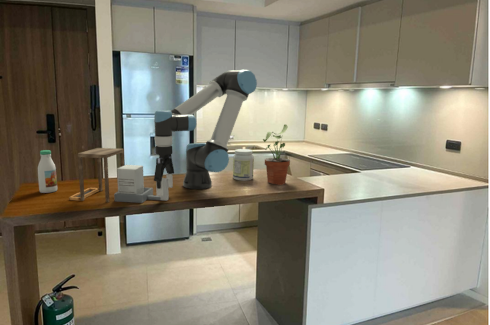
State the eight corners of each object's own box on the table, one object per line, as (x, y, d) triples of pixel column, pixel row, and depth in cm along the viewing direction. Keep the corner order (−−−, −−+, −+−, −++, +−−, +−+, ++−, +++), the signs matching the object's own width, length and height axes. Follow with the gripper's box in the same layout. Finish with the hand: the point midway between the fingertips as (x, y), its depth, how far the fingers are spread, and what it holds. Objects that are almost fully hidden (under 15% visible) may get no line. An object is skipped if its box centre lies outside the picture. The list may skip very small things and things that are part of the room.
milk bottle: (39, 193, 168) (35, 152, 164) (39, 190, 175) (36, 149, 171) (57, 192, 171) (54, 151, 168) (57, 188, 178) (54, 149, 174)
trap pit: (99, 190, 176) (99, 188, 176) (79, 200, 159) (79, 198, 159) (89, 190, 176) (89, 187, 176) (69, 199, 160) (68, 197, 160)
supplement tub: (240, 175, 218) (241, 148, 215) (257, 178, 211) (258, 150, 208) (228, 178, 208) (228, 150, 205) (245, 182, 201) (246, 152, 198)
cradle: (172, 196, 170) (171, 175, 168) (162, 204, 157) (162, 182, 155) (127, 193, 172) (126, 173, 170) (114, 201, 160) (113, 179, 158)
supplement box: (126, 195, 170) (125, 164, 167) (144, 196, 169) (143, 165, 166) (117, 200, 161) (116, 168, 158) (136, 201, 160) (135, 169, 157)
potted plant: (272, 178, 212) (274, 119, 206) (293, 182, 202) (297, 121, 196) (255, 182, 201) (257, 120, 194) (277, 187, 191) (280, 122, 184)
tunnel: (125, 192, 175) (123, 148, 171) (108, 202, 158) (105, 154, 154) (100, 190, 176) (98, 147, 172) (80, 200, 159) (77, 153, 155)
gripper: (164, 141, 172) (165, 184, 176) (144, 149, 147) (146, 198, 151) (180, 142, 171) (180, 184, 175) (162, 149, 146) (163, 199, 151)
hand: (164, 191), depth 163 cm, fingers open, 13 cm apart
